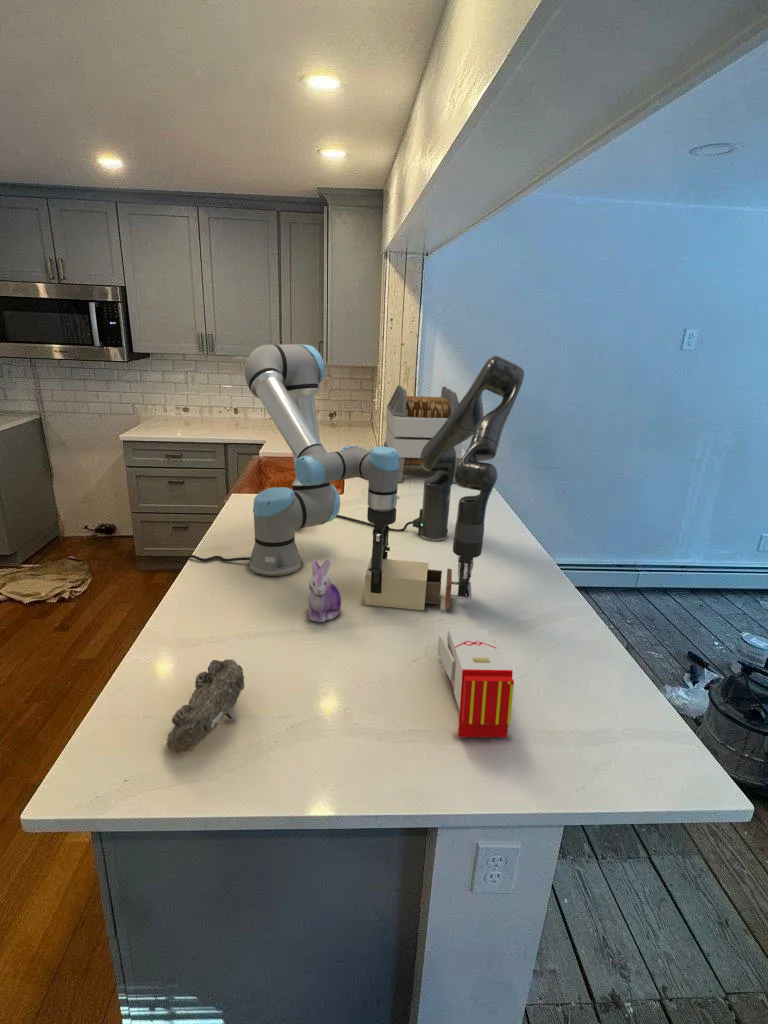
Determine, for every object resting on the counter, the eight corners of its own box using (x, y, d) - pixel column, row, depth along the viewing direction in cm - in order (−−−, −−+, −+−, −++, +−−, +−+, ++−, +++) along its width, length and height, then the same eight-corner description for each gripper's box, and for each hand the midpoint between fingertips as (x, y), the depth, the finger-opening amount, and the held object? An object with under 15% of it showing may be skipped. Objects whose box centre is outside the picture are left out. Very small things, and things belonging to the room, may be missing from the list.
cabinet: (426, 590, 160) (428, 562, 157) (424, 610, 150) (426, 580, 147) (370, 585, 162) (371, 557, 159) (364, 604, 151) (365, 574, 148)
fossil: (192, 660, 117) (244, 628, 112) (224, 691, 120) (276, 661, 115) (142, 746, 98) (202, 712, 93) (182, 779, 101) (242, 748, 96)
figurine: (314, 627, 139) (314, 572, 134) (300, 608, 148) (299, 555, 143) (349, 619, 143) (350, 565, 138) (333, 601, 152) (334, 550, 147)
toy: (488, 613, 130) (523, 677, 101) (484, 667, 133) (517, 744, 104) (435, 612, 130) (455, 676, 101) (432, 666, 133) (451, 743, 103)
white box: (382, 463, 289) (386, 382, 275) (445, 464, 293) (451, 384, 279) (390, 482, 257) (394, 392, 243) (460, 483, 261) (468, 394, 247)
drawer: (469, 592, 158) (472, 570, 156) (470, 610, 149) (473, 587, 147) (397, 586, 160) (398, 564, 158) (393, 603, 151) (394, 580, 149)
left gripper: (391, 523, 136) (387, 604, 143) (400, 494, 158) (396, 565, 166) (360, 521, 137) (358, 601, 144) (374, 492, 159) (371, 563, 166)
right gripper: (484, 547, 141) (476, 609, 147) (482, 528, 153) (475, 585, 159) (453, 544, 141) (447, 605, 147) (454, 525, 154) (448, 583, 160)
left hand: (378, 582), depth 155 cm, fingers closed on cabinet, 11 cm apart
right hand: (461, 595), depth 153 cm, fingers closed
